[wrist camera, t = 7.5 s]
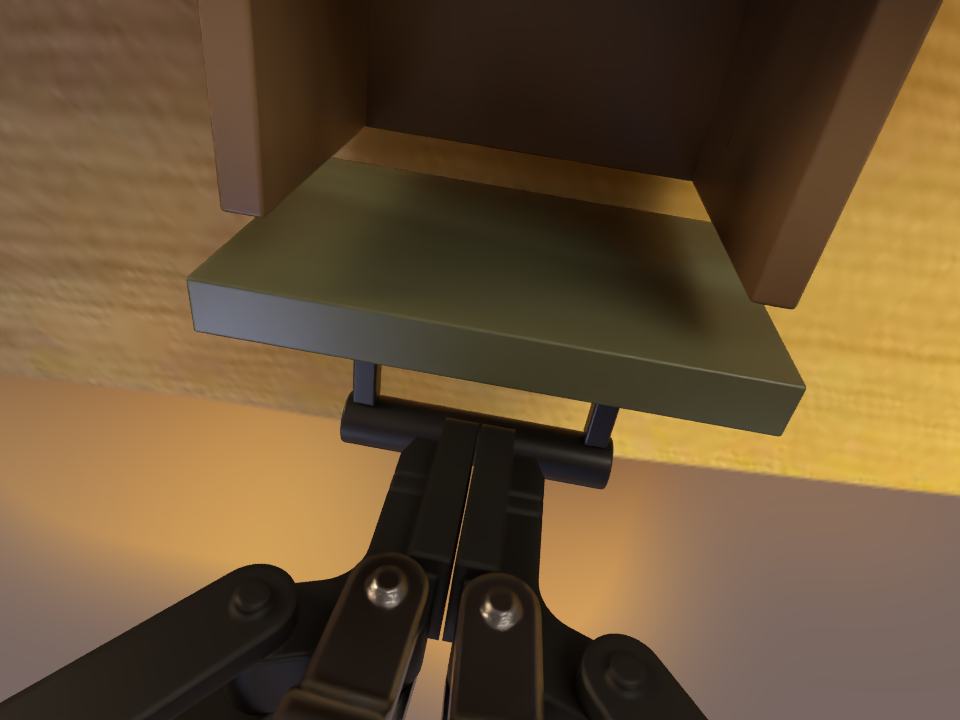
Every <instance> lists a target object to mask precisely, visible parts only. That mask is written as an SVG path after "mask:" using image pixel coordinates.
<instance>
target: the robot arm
mask: <svg viewBox="0 0 960 720" xmlns="http://www.w3.org/2000/svg"><path fill="white" fill-rule="evenodd" d="M478 429H479V423H475V422H469V421H464V420H458V419H453V418H448V417H446V419H445V422H444V426H443V429H442V433H441V437H440V440H439V441H437V440H432V439H427V438H421V437H416V438H415V439H414V440H413V441H412V442H411V443H410V444H409V445H408V446H407V447H406V448H405V449H404V450H403V451H402V452H401V455H400V458H399V461H398V464H397V467H396V470H395V474H394V476H393V479H392V482H391V484H390V488H389V491H388V493H387V496H386V499H385V502H384V505H383V508H382V511H381V514H380V517H379V520H378V523H377V526H376V529H375V532H374V535H373V538H372V541H371V543H370V546H369V549H368V551H367V554H366V555H365V556H364V558H363V559H362V560H361V561H360V562H359V563H358V564H357V565H356V566H355V567H354V568H353V569H351V570H350V571H348V572H347V573H345V574H342V575H340V576H338V577H335V578H331V579H326V580H319V581H309V582H300V583H295V582H294V581H293V579H292V577H291V576H290V575H289V574H288V573H287V572H286V571H284V570H282V569H281V568H279V567H276V566H273V565H269V564H252V565H247V566H244V567H241V568H238V569H236V570H234V571H232V572H230V573H228V574H227V575H225V576H223V577H221V578H220V579H218V580H216V581H214V582H213V583H211V584H209V585H207V586H206V587H204V588H202V589H200V590H198V591H197V592H195V593H193V594H191V595H190V596H188V597H186V598H184V599H183V600H181V601H179V602H177V603H176V604H174V605H172V606H170V607H168V608H167V609H165V610H163V611H162V612H160V613H158V614H156V615H154V616H153V617H151V618H149V619H147V620H146V621H144V622H142V623H140V624H139V625H137V626H135V627H133V628H132V629H130V630H128V631H126V632H124V633H123V634H121V635H119V636H117V637H116V638H114V639H112V640H110V641H109V642H107V643H105V644H103V645H101V646H100V647H98V648H96V649H95V650H93V651H91V652H89V653H87V654H86V655H84V656H82V657H80V658H79V659H77V660H75V661H73V662H72V663H70V664H68V665H66V666H64V667H63V668H61V669H59V670H57V671H56V672H54V673H52V674H50V675H49V676H47V677H45V678H43V679H42V680H40V681H38V682H36V683H34V684H33V685H31V686H29V687H27V688H26V689H24V690H22V691H20V692H19V693H17V694H15V695H13V696H11V697H10V698H8V699H6V700H4V701H3V702H1V703H0V720H405V717H406V713H407V710H408V707H409V703H410V700H411V696H412V693H413V690H414V686H415V683H416V679H417V676H418V674H419V672H420V669H421V666H422V662H423V658H424V653H425V648H426V644H427V639H428V638H430V639H435V640H439V635H440V630H441V625H442V620H443V615H444V610H445V605H446V600H447V595H448V590H449V585H450V579H451V574H452V569H453V564H454V559H455V554H456V549H457V544H458V539H459V534H460V528H461V524H462V519H463V513H464V508H465V503H466V498H467V493H468V487H469V482H470V476H471V470H472V464H473V458H474V452H475V447H476V441H477V435H478ZM514 439H515V430H514V429H508V428H503V427H497V426H492V425H487V424H482V427H481V433H480V438H479V443H478V448H477V453H476V458H475V463H474V469H473V474H472V479H471V484H470V489H469V495H468V499H467V505H466V510H465V515H464V521H463V525H462V530H461V536H460V541H459V546H458V551H457V556H456V562H455V567H454V573H453V579H452V585H451V591H450V597H449V603H448V610H447V615H446V621H445V627H444V633H443V639H442V640H443V641H447V642H452V647H451V653H450V658H449V664H448V670H447V676H446V681H445V687H444V696H443V706H442V716H441V720H708V719H707V718H706V716H705V715H704V714H703V713H702V711H701V710H700V709H699V708H698V706H697V705H696V704H695V703H694V701H693V700H692V699H691V698H690V697H689V695H688V694H687V693H686V692H685V690H684V689H683V688H682V687H681V686H680V684H679V683H678V682H677V681H676V679H675V678H674V677H673V676H672V674H671V673H670V672H669V671H668V669H667V668H666V667H665V665H664V664H663V663H662V662H661V660H660V659H659V658H658V657H657V656H656V654H655V653H654V652H653V651H652V650H651V649H650V648H649V647H647V646H646V645H645V644H643V643H642V642H640V641H639V640H637V639H635V638H633V637H630V636H627V635H623V634H607V635H603V636H600V637H598V638H596V639H595V640H592V639H591V638H589V637H586V636H585V635H583V634H581V633H579V632H577V631H575V630H574V629H572V628H570V627H568V626H567V625H565V624H563V623H562V622H561V621H559V620H558V619H557V618H556V617H555V616H554V615H553V614H552V613H551V612H550V610H549V609H548V608H547V607H546V605H545V603H544V601H543V599H542V597H541V594H540V590H539V565H540V547H541V532H542V515H543V497H544V482H545V478H544V475H543V473H542V471H541V469H540V467H539V464H538V462H537V460H536V458H530V457H525V456H519V455H514V454H513V447H514Z"/></svg>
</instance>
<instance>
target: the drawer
mask: <svg viewBox="0 0 960 720" xmlns="http://www.w3.org/2000/svg"><path fill="white" fill-rule="evenodd" d="M942 2H943V0H198V7H199V16H200V25H201V34H202V43H203V52H204V61H205V71H206V80H207V89H208V98H209V107H210V116H211V125H212V134H213V143H214V152H215V161H216V170H217V179H218V188H219V197H220V206H221V209H222V210H223V211H226V212H231V213H237V214H243V215H249V216H254V217H255V218H254V219H253V220H252V221H251V222H250V223H248V224H247V225H246V226H245V227H244V228H243V229H242V230H240V231H239V232H238V233H237V234H236V235H235V236H234V237H232V238H231V239H230V240H229V241H228V242H227V243H226V244H224V245H223V246H222V247H221V248H220V249H219V250H217V251H216V252H215V253H214V254H213V255H212V256H211V257H209V258H208V259H207V260H206V261H205V262H204V263H203V264H201V265H200V266H199V267H198V268H197V269H196V270H195V271H193V272H192V273H191V274H190V275H189V276H188V277H187V287H188V293H189V300H190V306H191V313H192V319H193V326H194V330H195V331H197V332H202V333H207V334H213V335H218V336H224V337H230V338H235V339H241V340H246V341H252V342H257V343H263V344H268V345H274V346H279V347H285V348H291V349H296V350H302V351H307V352H313V353H318V354H324V355H329V356H335V357H341V358H346V359H352V360H354V369H353V391H351V392H350V394H349V396H348V398H347V400H346V403H345V406H344V409H343V414H342V419H341V428H340V435H341V439H342V441H344V442H347V443H353V444H359V445H364V446H369V447H374V448H380V449H385V450H391V451H396V452H402V451H403V450H404V449H405V448H406V447H407V446H408V445H409V444H410V443H411V442H412V441H413V440H414V439H415V438H416V437H421V438H427V439H432V440H437V441H439V440H440V437H441V433H442V429H443V426H444V422H445V419H446V417H448V418H453V419H458V420H464V421H469V422H475V423H479V429H478V435H477V441H476V447H475V452H474V458H473V464H472V466H474V463H475V458H476V453H477V448H478V443H479V438H480V433H481V427H482V424H487V425H492V426H497V427H503V428H508V429H514V430H515V439H514V447H513V454H514V455H519V456H525V457H530V458H536V460H537V462H538V464H539V467H540V469H541V471H542V473H543V475H544V478H545V479H548V480H553V481H559V482H564V483H570V484H575V485H580V486H586V487H591V488H597V489H604V488H605V486H606V485H607V482H608V479H609V476H610V472H611V467H612V460H613V440H612V438H611V437H610V436H611V433H612V430H613V427H614V424H615V421H616V418H617V415H618V411H619V408H623V409H629V410H635V411H640V412H646V413H651V414H657V415H662V416H668V417H673V418H679V419H684V420H690V421H696V422H701V423H707V424H712V425H718V426H723V427H729V428H734V429H740V430H745V431H751V432H757V433H762V434H768V435H773V436H781V435H782V433H783V432H784V430H785V428H786V426H787V424H788V422H789V420H790V418H791V417H792V415H793V413H794V411H795V409H796V407H797V405H798V404H799V402H800V400H801V398H802V396H803V394H804V392H805V390H806V386H805V384H804V382H803V380H802V378H801V376H800V374H799V372H798V370H797V368H796V366H795V364H794V362H793V360H792V358H791V356H790V355H789V353H788V351H787V349H786V347H785V345H784V343H783V341H782V339H781V337H780V335H779V333H778V331H777V329H776V327H775V326H774V324H773V322H772V320H771V318H770V316H769V314H768V312H767V310H766V308H765V306H764V305H769V306H774V307H780V308H786V309H794V308H795V307H796V306H797V304H798V302H799V300H800V298H801V296H802V294H803V292H804V290H805V288H806V285H807V283H808V281H809V279H810V277H811V275H812V273H813V271H814V269H815V267H816V265H817V263H818V260H819V258H820V256H821V254H822V252H823V250H824V248H825V246H826V244H827V242H828V240H829V237H830V235H831V233H832V231H833V229H834V227H835V225H836V223H837V221H838V219H839V217H840V215H841V212H842V210H843V208H844V206H845V204H846V202H847V200H848V198H849V196H850V194H851V192H852V190H853V187H854V185H855V183H856V181H857V179H858V177H859V175H860V173H861V171H862V169H863V167H864V165H865V162H866V160H867V158H868V156H869V154H870V152H871V150H872V148H873V146H874V144H875V142H876V139H877V137H878V135H879V133H880V131H881V129H882V127H883V125H884V123H885V121H886V119H887V117H888V114H889V112H890V110H891V108H892V106H893V104H894V102H895V100H896V98H897V96H898V94H899V92H900V89H901V87H902V85H903V83H904V81H905V79H906V77H907V75H908V73H909V71H910V69H911V67H912V64H913V62H914V60H915V58H916V56H917V54H918V52H919V50H920V48H921V46H922V44H923V42H924V39H925V37H926V35H927V33H928V31H929V29H930V27H931V25H932V23H933V21H934V19H935V16H936V14H937V12H938V10H939V8H940V6H941V4H942ZM365 126H367V127H373V128H379V129H384V130H390V131H396V132H402V133H408V134H414V135H420V136H426V137H432V138H438V139H444V140H450V141H456V142H462V143H468V144H473V145H479V146H485V147H491V148H497V149H503V150H509V151H515V152H521V153H527V154H533V155H539V156H545V157H551V158H557V159H562V160H568V161H574V162H580V163H586V164H592V165H598V166H604V167H610V168H616V169H622V170H628V171H634V172H640V173H646V174H651V175H657V176H663V177H669V178H675V179H681V180H687V181H692V182H693V184H694V186H695V188H696V190H697V192H698V194H699V196H700V199H701V201H702V203H703V205H704V207H705V209H706V211H707V213H708V215H709V217H710V219H711V221H712V222H707V221H701V220H695V219H689V218H683V217H677V216H672V215H666V214H660V213H654V212H648V211H642V210H636V209H630V208H625V207H619V206H613V205H607V204H601V203H595V202H589V201H584V200H578V199H572V198H566V197H560V196H554V195H548V194H542V193H537V192H531V191H525V190H519V189H513V188H507V187H501V186H495V185H490V184H484V183H478V182H472V181H466V180H460V179H454V178H449V177H443V176H437V175H431V174H425V173H419V172H413V171H407V170H402V169H396V168H390V167H384V166H378V165H372V164H366V163H360V162H355V161H349V160H343V159H337V158H331V157H332V156H333V155H334V154H335V153H337V152H338V151H339V150H340V149H341V148H342V147H343V146H344V145H345V144H347V143H348V142H349V141H350V140H351V139H352V138H353V137H354V136H355V135H357V134H358V133H359V132H360V131H361V130H362V129H363V128H364V127H365ZM382 365H385V366H390V367H396V368H402V369H407V370H413V371H418V372H424V373H429V374H435V375H440V376H446V377H451V378H457V379H463V380H468V381H474V382H479V383H485V384H490V385H496V386H501V387H507V388H512V389H518V390H524V391H529V392H535V393H540V394H546V395H551V396H557V397H562V398H568V399H573V400H579V401H585V402H590V403H591V407H590V410H589V414H588V417H587V420H586V424H585V427H584V432H582V431H577V430H571V429H566V428H560V427H555V426H549V425H544V424H538V423H533V422H527V421H522V420H516V419H511V418H505V417H500V416H494V415H489V414H483V413H478V412H472V411H467V410H461V409H456V408H450V407H445V406H439V405H434V404H428V403H423V402H417V401H412V400H406V399H401V398H395V397H390V396H384V395H380V389H381V369H382Z"/></svg>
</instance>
